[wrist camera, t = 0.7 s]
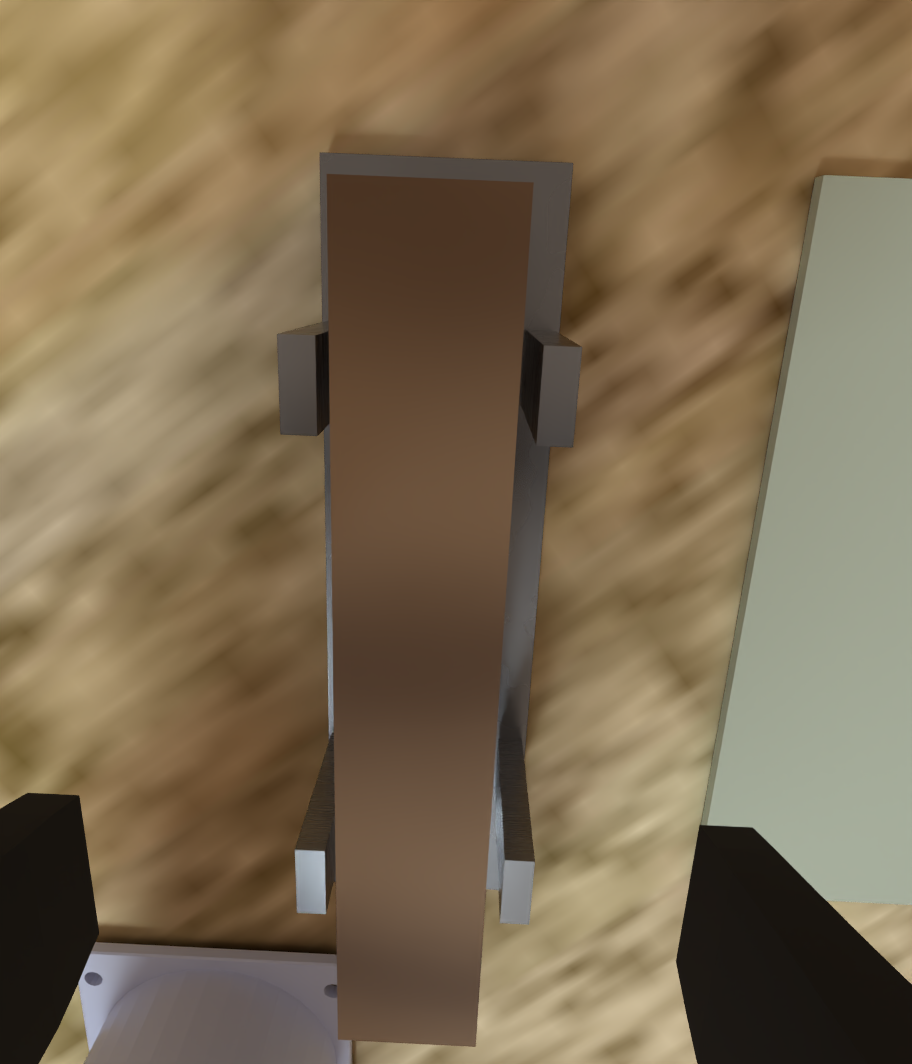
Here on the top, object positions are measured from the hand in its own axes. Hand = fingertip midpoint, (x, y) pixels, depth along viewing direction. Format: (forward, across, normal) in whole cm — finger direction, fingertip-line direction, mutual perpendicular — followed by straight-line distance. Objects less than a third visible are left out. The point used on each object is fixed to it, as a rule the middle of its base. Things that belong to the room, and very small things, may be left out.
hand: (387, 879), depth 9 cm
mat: (+10, -11, 0) cm, 15 cm away
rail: (+7, 0, 0) cm, 7 cm away
